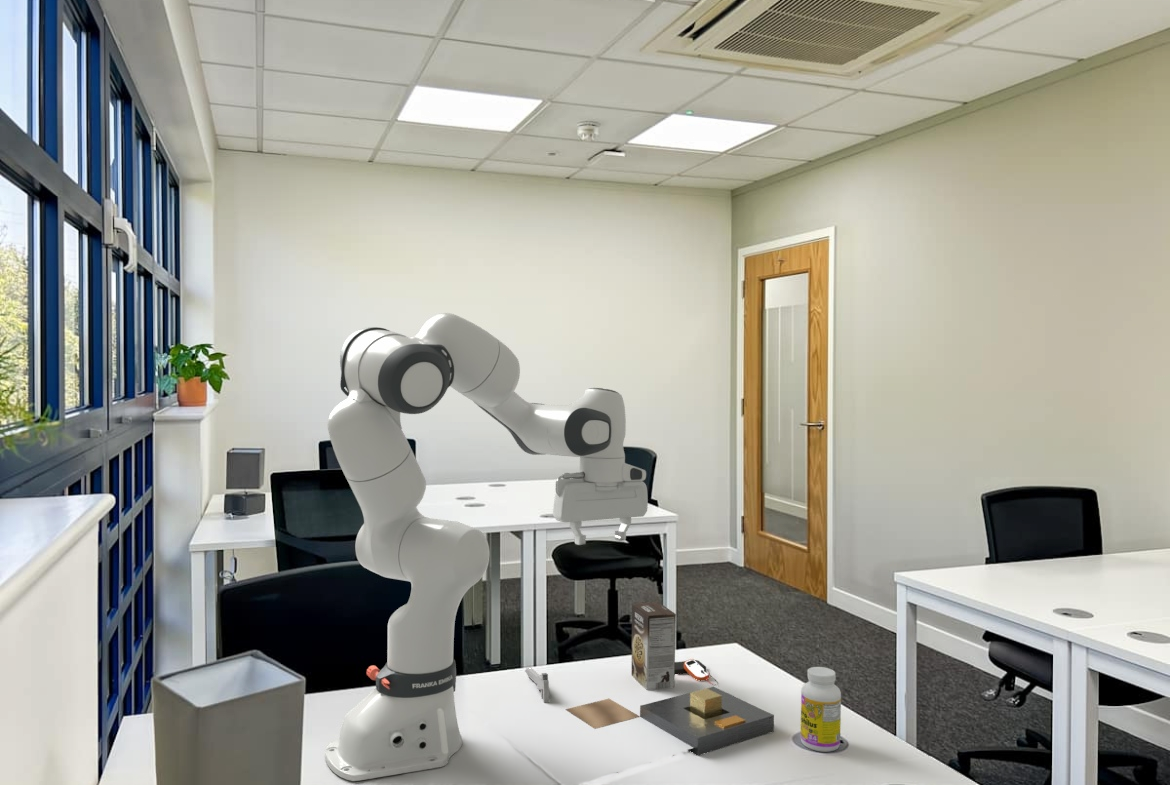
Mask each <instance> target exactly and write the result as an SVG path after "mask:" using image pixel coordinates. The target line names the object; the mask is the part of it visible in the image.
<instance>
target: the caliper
mask: <svg viewBox="0 0 1170 785" xmlns="http://www.w3.org/2000/svg"><path fill="white" fill-rule="evenodd" d="M529 668H531V669H529ZM524 670H525V672H526V676H527V677H528V678H529V679H531V680H532V681H533V682H534V683H535V684H536V687H537V690H538V691H540V698H541V699H542V701H543V703H544V704H545V703H547V704H548V703H550V684H549V677H548V676H549V673H547V672H542V673H541V674H540V673H538V672H537V671H536V670H534V669H533V667H526V668H525V669H524Z"/></svg>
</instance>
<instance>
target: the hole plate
mask: <svg viewBox="0 0 1170 785" xmlns="http://www.w3.org/2000/svg"><path fill="white" fill-rule="evenodd" d="M707 689H709V690H711V691H713V692H716V693H718V694H720V695H722V710H721V715H720V716H716V717H713V718H709V719H706V720H704V719H703V718H701V717H699V716H697V715H695V714H693V713H691V712H690V693H691V692H688V693H684V694H680V695H676V696H673V697H672V696H671V697H669V698H668V697H667V698H665V699H660V700H658V701H652V702H650V703H649V702H648V703H646V704H641V705H640V706H639V716H640V717H639V718H641V719H643V720H645V721H647V722H648V723H650V724H652V725H654V726H655V727H657V728H658V729H660V730H662V731H663V732H666V733H667V734H668V735H670V736H673V737H674V738H675V739H677V740H680V741H681V742H683V743H685V744H686V745H688V746H690V748H688V749H687V751H689V752H690V751H691V753H692V752H693V753H692V754H693V755H695V754H696V755H695V756H697V755H698V756H700V755H701V754H702V755H705V754H707V752H708V753H710V752H714V751H716V750H717V751H718V750H721V749H723V748H726V747H730V746H732V745H736V744H739V743H743V742H746V741H748V740H752V739H755V738H758V737H762V736H764V735H768V734H770V733H774V732H775V731H774V730H775V714H773V713H770V712H768V711H766V710H764V709H762V708H760V707H757V706H756V705H753V704H751V703H749V702H748V701H745V700H743V699H741V698H740V697H739V698H738V697H736V696H735V695H732V694H730V693H729V692H726V691H724V690H722V689H719V688H718V687H715V686H711V687H707ZM691 747H692V748H691ZM720 748H721V749H720ZM704 753H705V754H704ZM702 755H701V756H702Z"/></svg>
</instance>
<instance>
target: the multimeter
mask: <svg viewBox="0 0 1170 785" xmlns="http://www.w3.org/2000/svg"><path fill="white" fill-rule="evenodd" d="M683 673H688V675H689V676H691V677H692V678H693V679H694V678H695V679H694V680H696V679H697V680H696V681H698V680H700V681H699V682H702V681H701V680H705V681H707V682H708V684H711V685H713V683H712V682H710V681H709V679H710V677H711V679H713V680H714V681H715V682H716V683H717V684H719V682H718V681H717V679H715V678H714V677H713V676H712V675H711V674H710V672H708V670H707V666H706V665H705V664H703V663H702V661H700V660H698V659H694V658H690V659H688V660H685V661H684V660H683V661H675V674H678V675H684V674H683ZM708 678H709V679H708ZM706 679H707V680H706Z"/></svg>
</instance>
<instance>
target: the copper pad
mask: <svg viewBox="0 0 1170 785" xmlns="http://www.w3.org/2000/svg"><path fill="white" fill-rule="evenodd" d="M565 711H567V712H568V713H569V714H571V715H573V716H574V717H576V718H577V719H579V720H581V721H582V722H584V723H585V724H586V725H588V726H589V727H591V728H593V729H594V730H595V729H600V728H603V727H607V726H611V725H614V724H618V723H622V722H625V721H629V720H634V719H637V718H641V717H640V715H638V714H636V713H635V712H633V711H631V710H630V709H628V708H627V707H625V706H623V705H621V704H619V702H618V703H617V702H616V701H614V700H612V699H610V698H606V699H605V698H604V699H601V700H598V701H597V700H596V701H594V702H589V703H584V704H582V705H577V706H573V707H570V708H569V707H568V708H566V709H565Z"/></svg>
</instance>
